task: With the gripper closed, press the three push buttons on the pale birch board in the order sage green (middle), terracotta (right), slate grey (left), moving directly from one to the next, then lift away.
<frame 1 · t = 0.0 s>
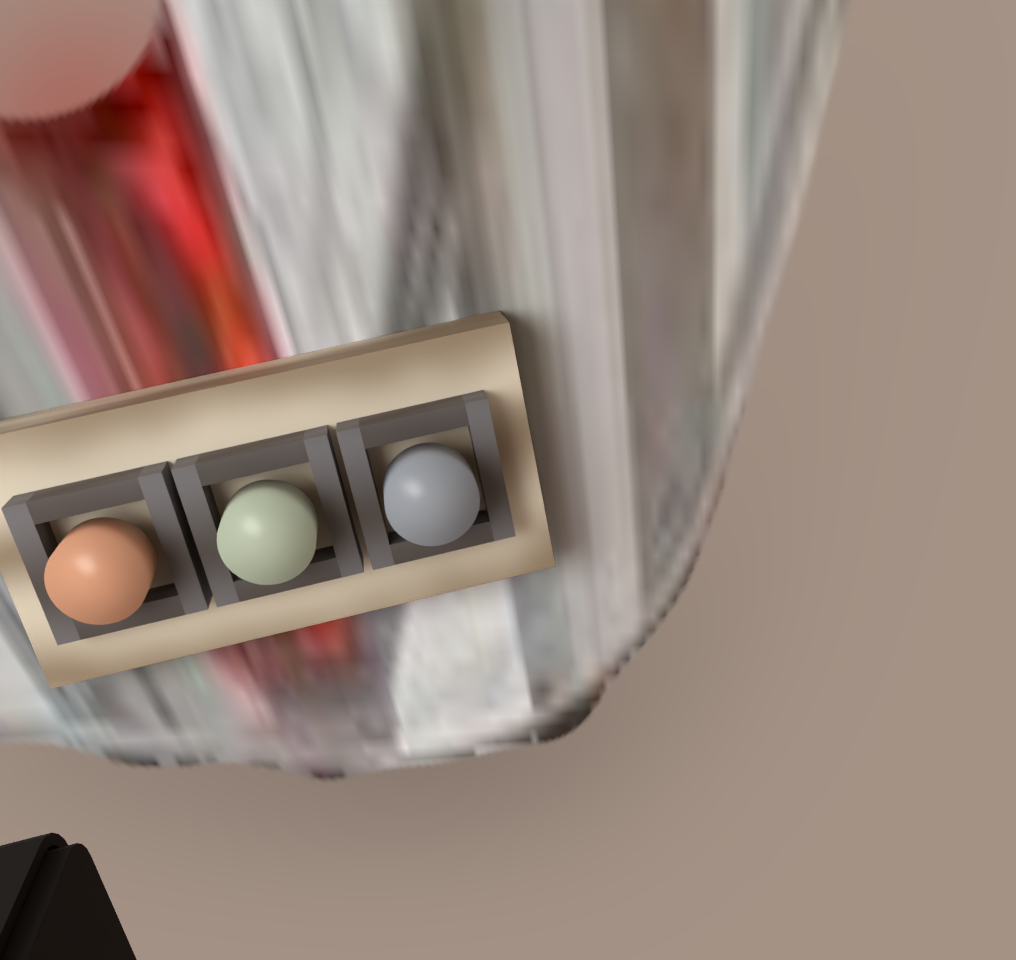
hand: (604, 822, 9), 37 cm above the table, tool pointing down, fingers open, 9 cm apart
button slate: (430, 494, 41), point 6 cm above the table, slide at 0.0 cm
button board: (278, 487, 46), on the table
button terracotta: (102, 570, 40), point 5 cm above the table, slide at 0.0 cm
button sage: (268, 531, 40), point 5 cm above the table, slide at 0.0 cm
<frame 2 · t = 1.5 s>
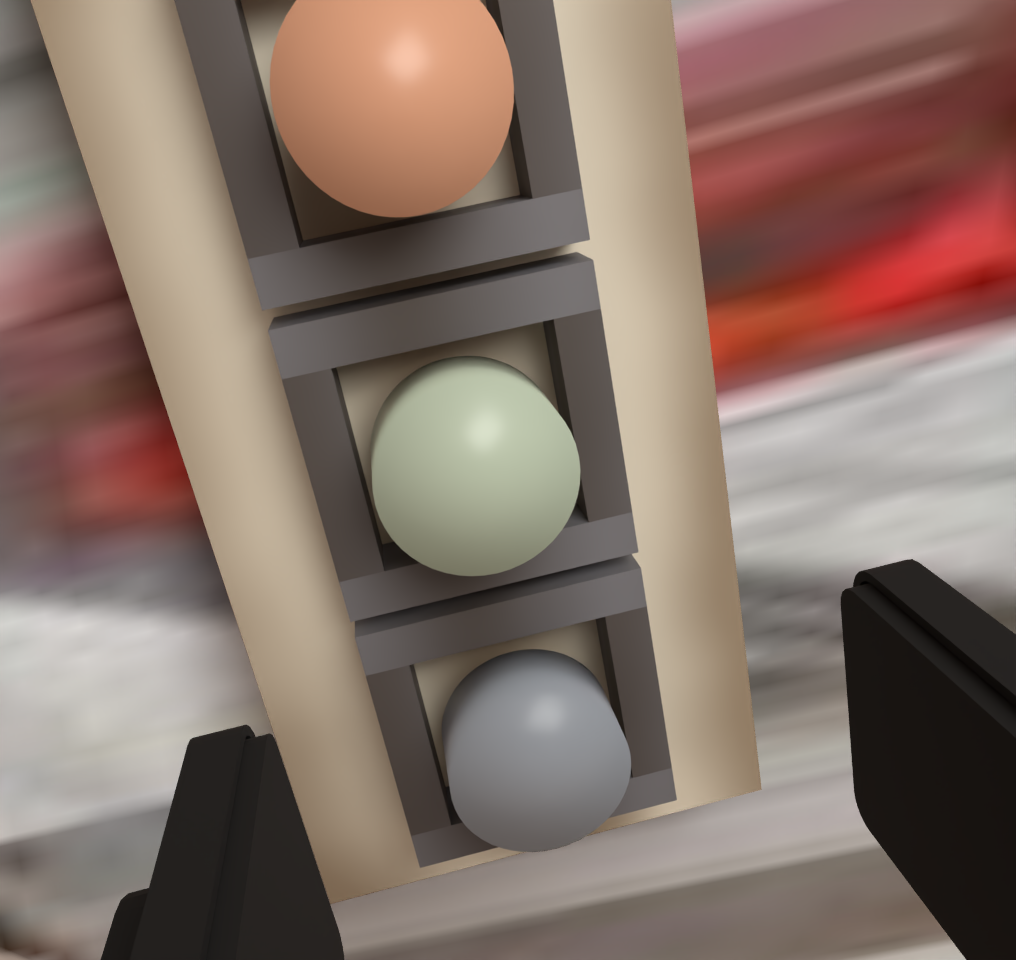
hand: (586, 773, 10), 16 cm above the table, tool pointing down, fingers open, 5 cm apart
button slate: (533, 749, 22), point 5 cm above the table, slide at 0.0 cm
button board: (446, 396, 24), on the table
button terracotta: (391, 94, 17), point 5 cm above the table, slide at 0.0 cm
button sage: (471, 464, 19), point 5 cm above the table, slide at 0.0 cm
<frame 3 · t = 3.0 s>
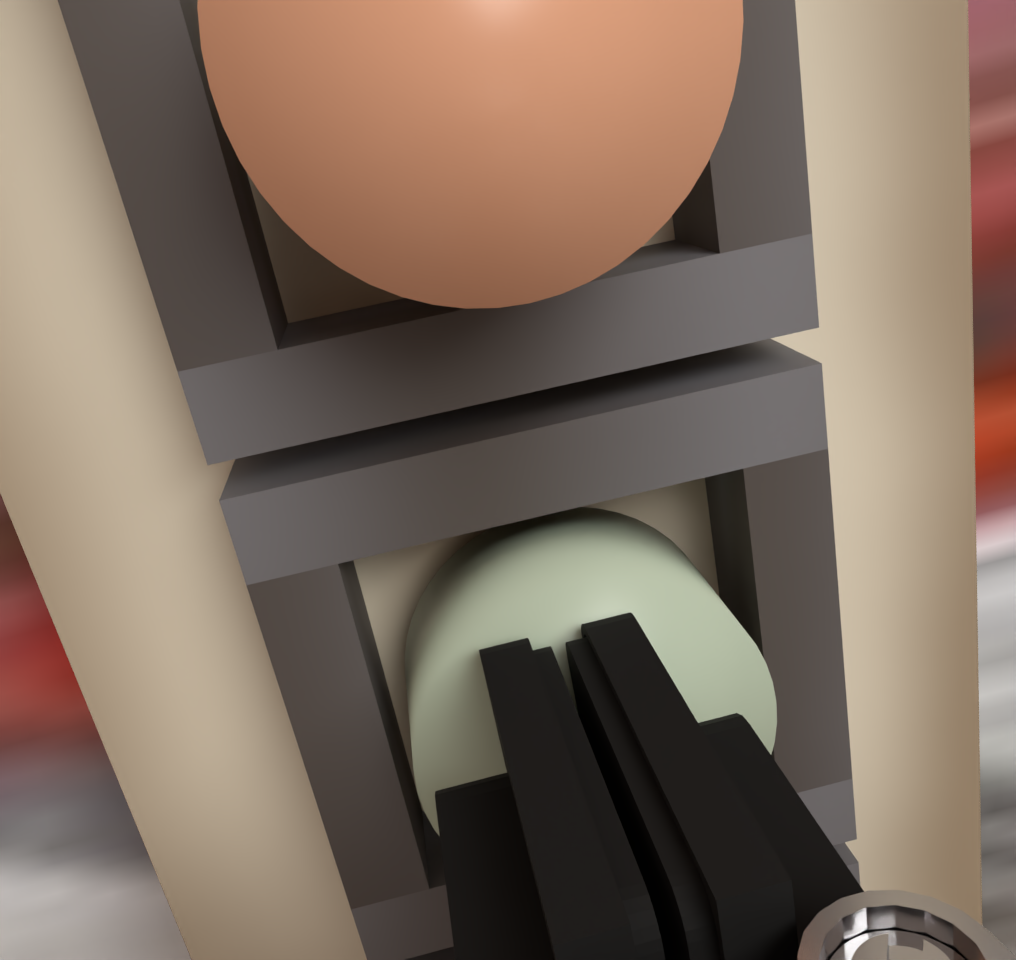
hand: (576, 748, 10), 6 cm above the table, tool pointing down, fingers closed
button board: (518, 542, 16), on the table
button terracotta: (466, 47, 8), point 5 cm above the table, slide at 0.0 cm
button sage: (579, 696, 11), point 5 cm above the table, slide at 0.9 cm, touching gripper
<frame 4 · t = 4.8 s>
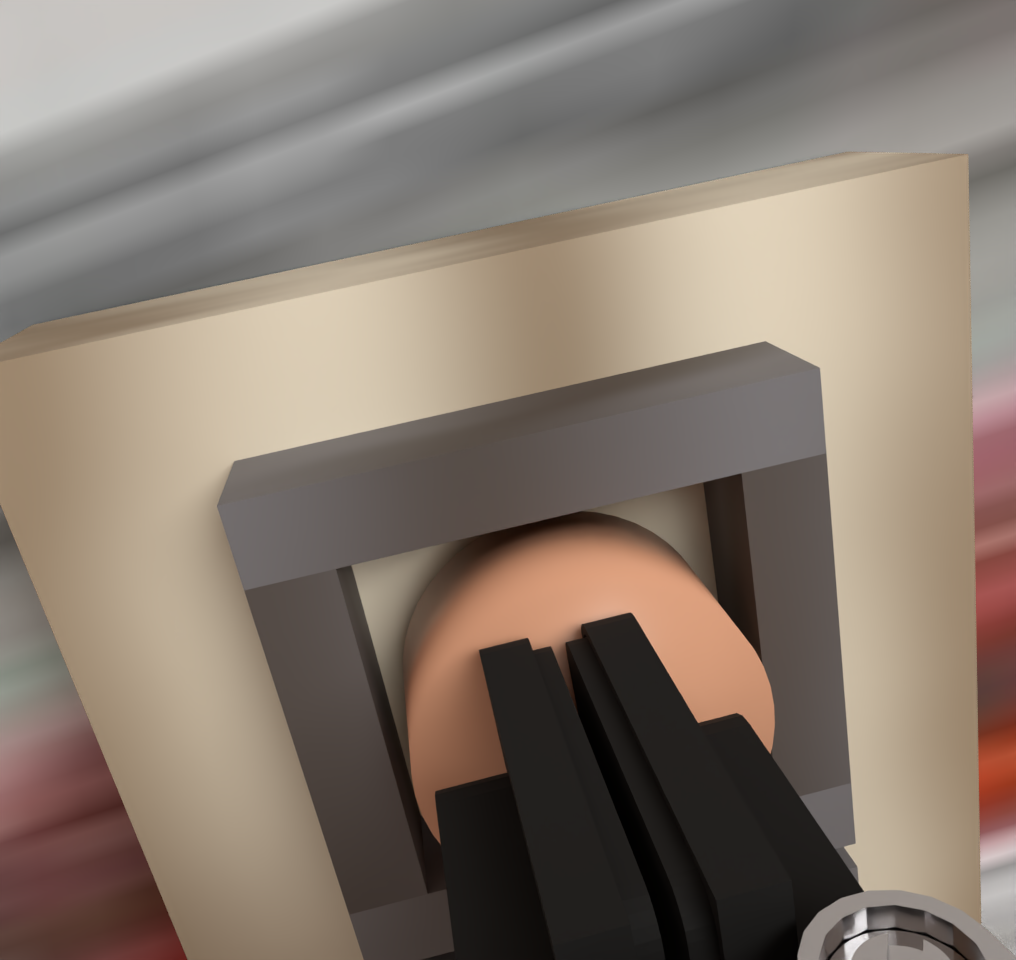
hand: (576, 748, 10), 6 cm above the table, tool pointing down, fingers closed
button board: (585, 878, 18), on the table
button terracotta: (577, 700, 11), point 5 cm above the table, slide at 0.9 cm, touching gripper
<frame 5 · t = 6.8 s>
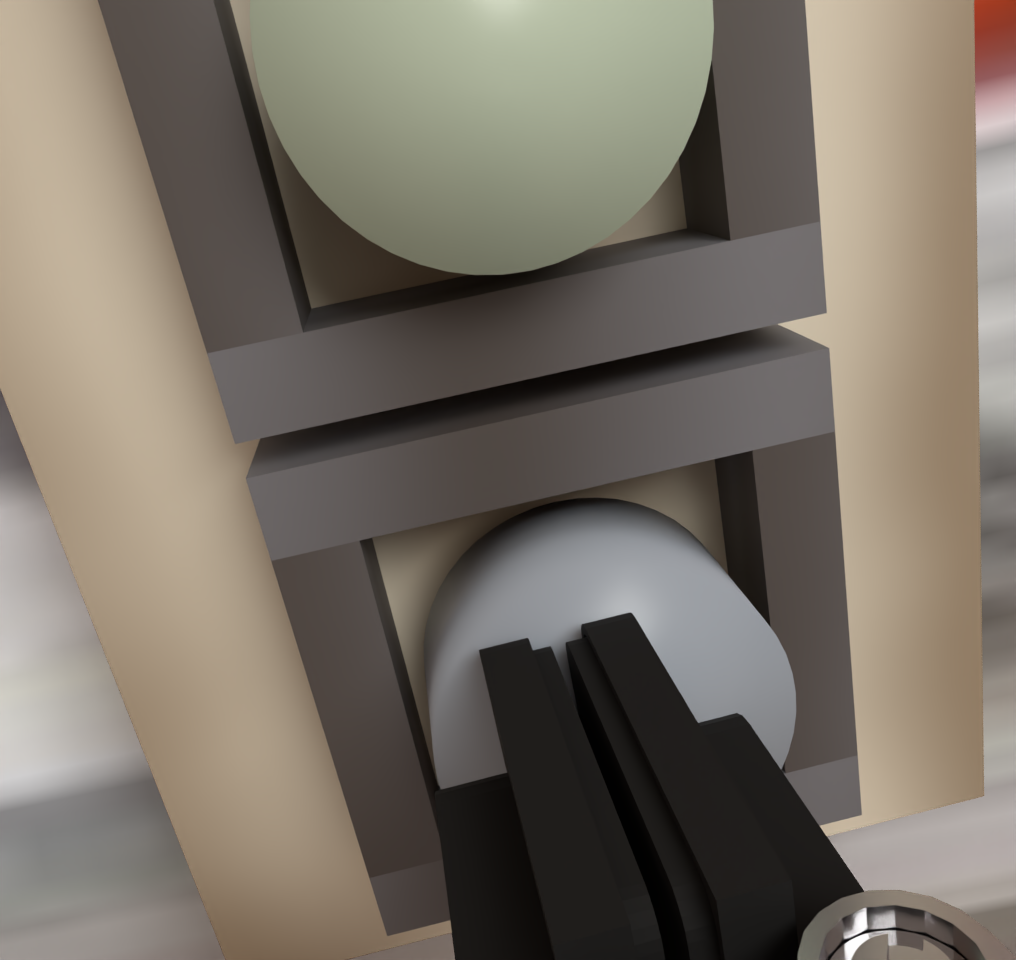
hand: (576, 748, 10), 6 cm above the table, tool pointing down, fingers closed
button slate: (598, 686, 11), point 5 cm above the table, slide at 0.6 cm, touching gripper
button board: (442, 77, 13), on the table
button sage: (476, 49, 9), point 5 cm above the table, slide at 1.0 cm
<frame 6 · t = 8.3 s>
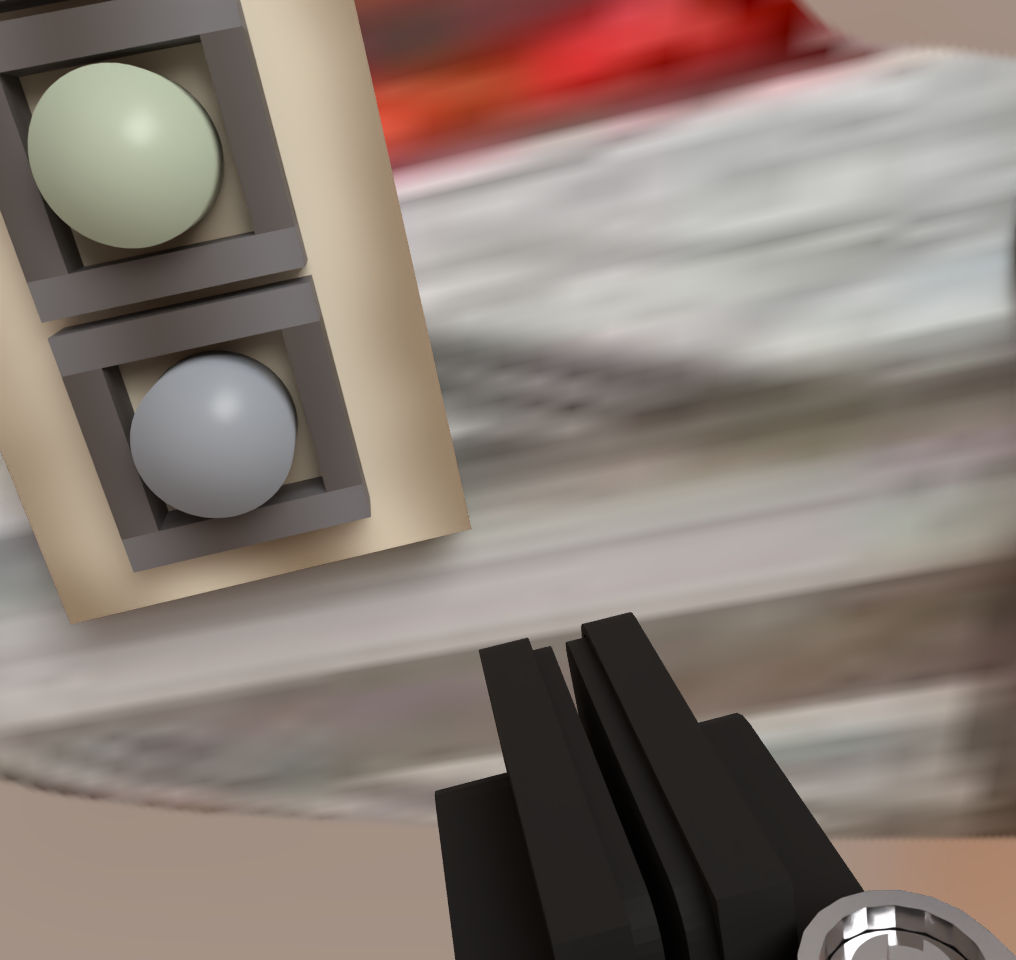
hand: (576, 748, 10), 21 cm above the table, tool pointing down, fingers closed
button slate: (218, 433, 25), point 5 cm above the table, slide at 1.0 cm
button board: (165, 154, 27), on the table
button sage: (131, 157, 23), point 5 cm above the table, slide at 1.0 cm
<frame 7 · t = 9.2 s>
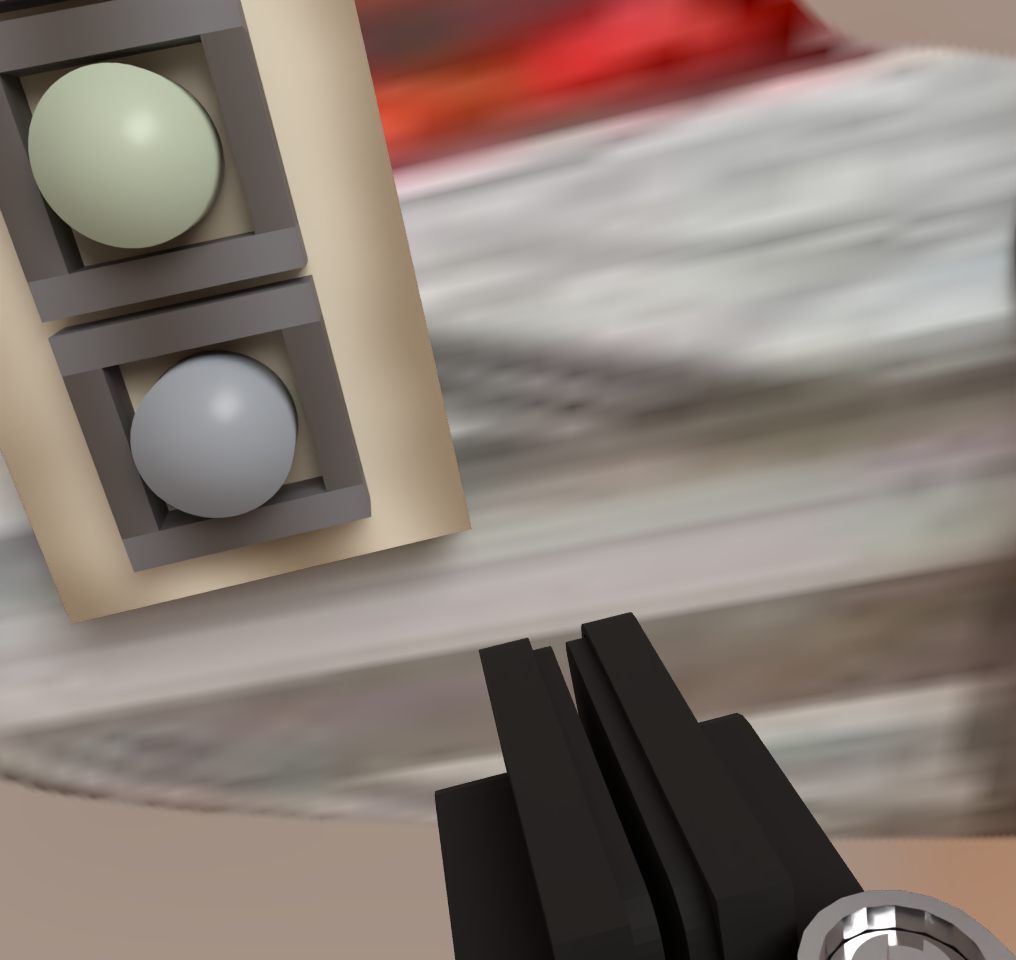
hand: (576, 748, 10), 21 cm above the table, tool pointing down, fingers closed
button slate: (218, 433, 25), point 5 cm above the table, slide at 1.0 cm
button board: (166, 154, 27), on the table
button sage: (131, 157, 23), point 5 cm above the table, slide at 1.0 cm
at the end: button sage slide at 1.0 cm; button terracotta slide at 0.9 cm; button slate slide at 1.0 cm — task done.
